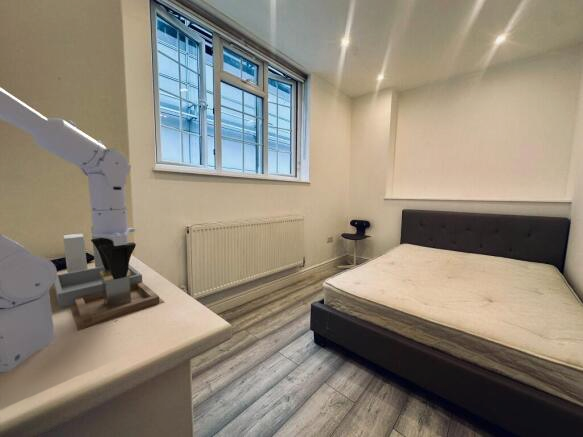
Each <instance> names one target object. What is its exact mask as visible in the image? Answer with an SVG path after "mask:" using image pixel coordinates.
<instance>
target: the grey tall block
mask: <svg viewBox="0 0 583 437" xmlns="http://www.w3.org/2000/svg"><path fill="white" fill-rule="evenodd" d="M129 275H130V271H129V270H128V272H127V276H126V277H124V278H120V279H115V280H114V279H113V277H112V275H111V272H110V270H105V271H100V276H101V277H102V287H103V298H104V304H105V305H106V307H107V309H112V308H115V307H118V306H122V305H125V304H128V303H131V293H130V280H129Z"/></svg>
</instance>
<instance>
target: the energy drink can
mask: <svg viewBox="0 0 583 437" xmlns="http://www.w3.org/2000/svg"><path fill="white" fill-rule="evenodd" d="M92 232H93V225H92V226H91V233H92ZM91 237H92V238H91V239H95V238H100V237H94V236H93V235H92V234H91ZM92 248H93V250H92V251H93V259H94V268H96V267H102V266H103V263H102V260H101V257H100V255H99V252H98V250H97V248H96V247H95V245H94V244H93V243H92Z"/></svg>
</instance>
